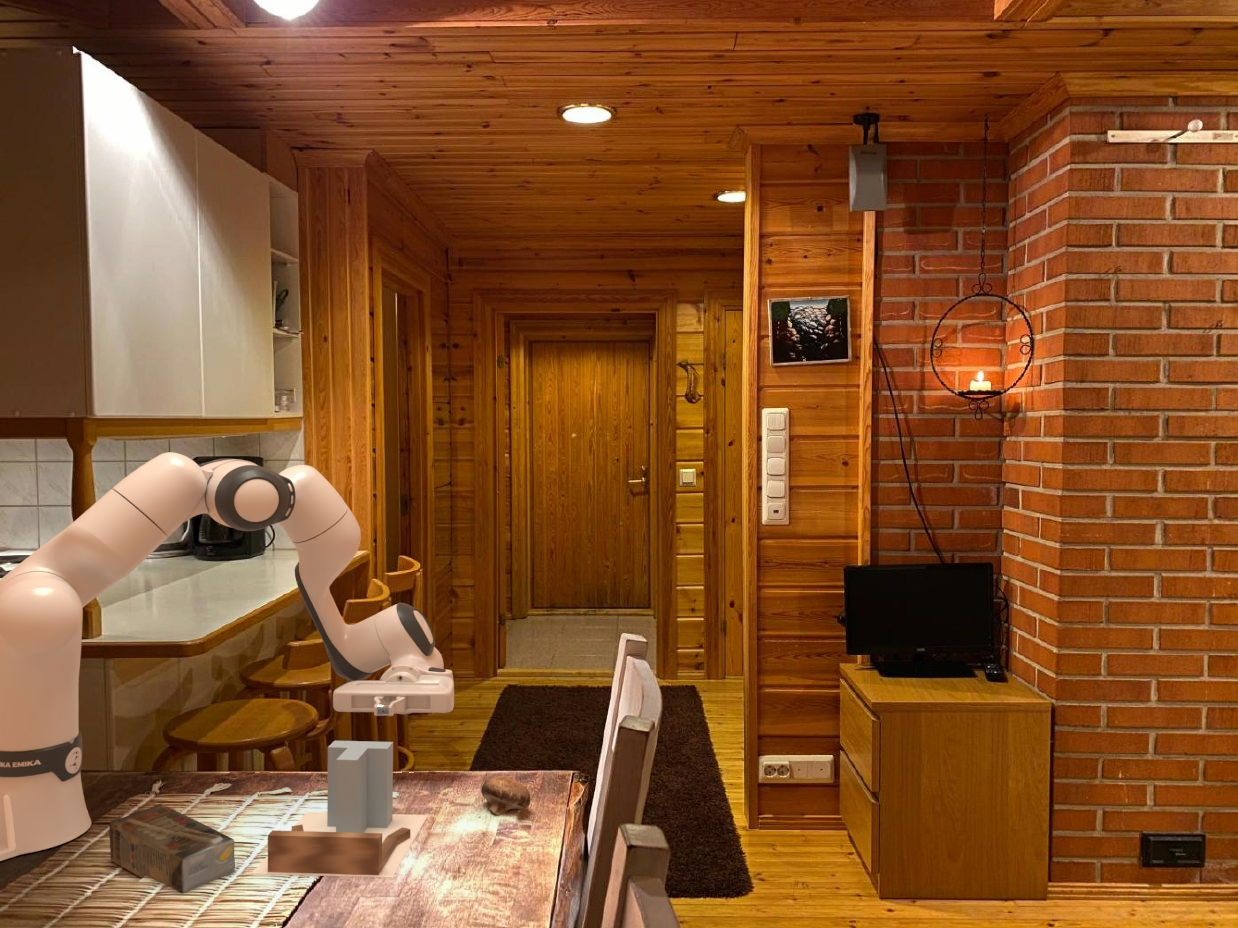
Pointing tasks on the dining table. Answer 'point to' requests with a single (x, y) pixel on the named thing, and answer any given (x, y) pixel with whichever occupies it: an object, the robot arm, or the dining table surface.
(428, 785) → the dining table surface
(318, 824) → the board
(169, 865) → the beverage carton
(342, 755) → the tee block
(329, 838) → the dock fence
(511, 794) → the mushroom
